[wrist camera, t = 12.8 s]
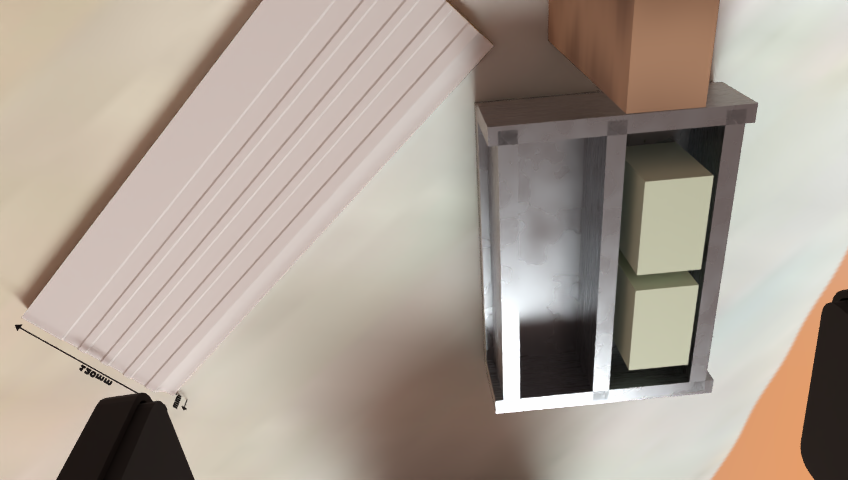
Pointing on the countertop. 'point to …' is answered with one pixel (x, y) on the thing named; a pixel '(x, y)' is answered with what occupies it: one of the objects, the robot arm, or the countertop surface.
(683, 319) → the offcut
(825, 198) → the countertop surface
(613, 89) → the walnut board
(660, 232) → the offcut
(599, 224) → the rack
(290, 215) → the baseboard
